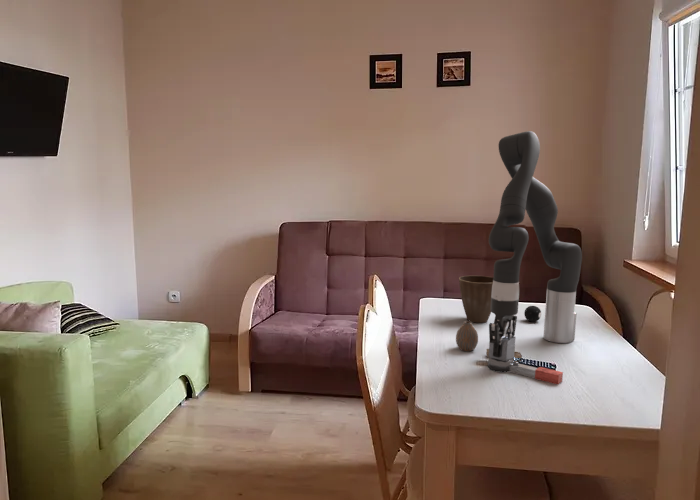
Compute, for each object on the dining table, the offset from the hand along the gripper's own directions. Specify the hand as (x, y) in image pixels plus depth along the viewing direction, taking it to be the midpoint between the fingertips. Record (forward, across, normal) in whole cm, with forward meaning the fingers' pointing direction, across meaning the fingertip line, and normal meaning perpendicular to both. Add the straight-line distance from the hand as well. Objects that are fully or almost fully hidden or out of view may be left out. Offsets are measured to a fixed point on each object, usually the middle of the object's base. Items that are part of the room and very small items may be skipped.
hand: (501, 354), depth 165 cm
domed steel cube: (+1, 0, 0) cm, 1 cm away
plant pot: (+4, -43, -29) cm, 52 cm away
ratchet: (+4, 0, +7) cm, 8 cm away
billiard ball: (+5, -57, -13) cm, 59 cm away
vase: (+4, -9, -16) cm, 19 cm away
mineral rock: (+5, -9, -3) cm, 11 cm away
